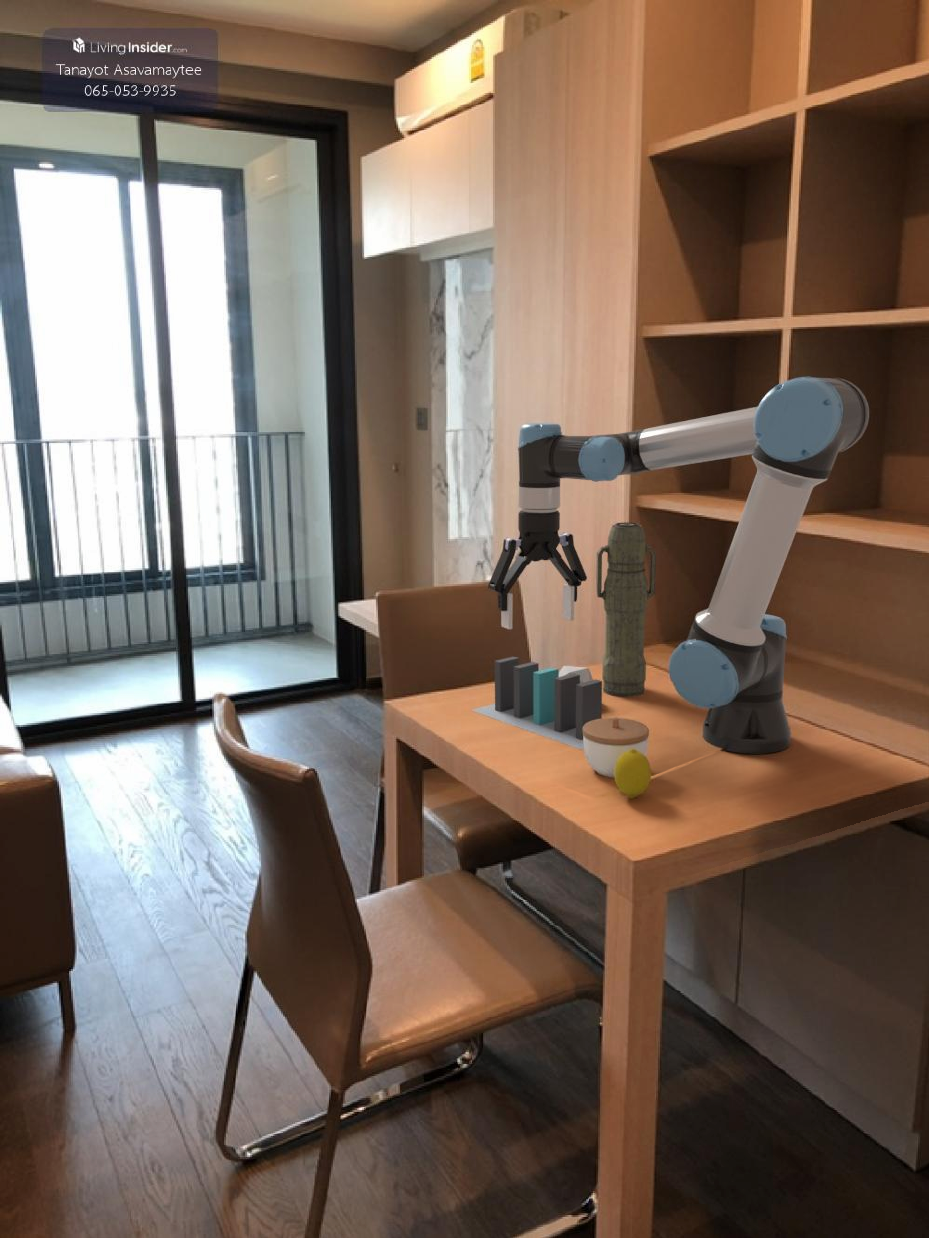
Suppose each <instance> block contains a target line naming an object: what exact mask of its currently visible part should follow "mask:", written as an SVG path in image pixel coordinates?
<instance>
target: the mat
mask: <svg viewBox="0 0 929 1238" xmlns="http://www.w3.org/2000/svg"><path fill="white" fill-rule="evenodd" d="M470 711H471V712H475V713H477V714H480V715H483V716H486V717H488V718H491V719H493V720H497V721H500V722H502V723H505V724H507V725H508V724H509V725H511V726H514V727H517V728H519V729H522V730H525V731H528V732H531V733H533V734H536V735H539V736H541V737H545V738H547V739H550V740H553V741H555V742H558V743H561V744H565V745H567V746H570V747H573V748H575V749H578V750H584V745H583V740H580V739H577V738H576V728H574V729H571V730H568V731H564V732H561V733H560V732H557V731H554V721H553V722H549V723H546V724H543V725H537V724H534V715H530V716H527V717H524V718H520V719H519V718H516V717H514V708H513V709H510V710H506V711H503V712H499V711H496V710H495V703H492V704H489V705H485V706H482V707H478V708H474V709H471V710H470Z"/></svg>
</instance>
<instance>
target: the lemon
mask: <svg viewBox="0 0 929 1238" xmlns="http://www.w3.org/2000/svg"><path fill="white" fill-rule="evenodd" d="M649 761H650V760H648V758H647V757H645V755H643V754H642V753H641V752H639V751H636V750H635V749H631V750H629V751H626V752H624V753H623V754H621V755H620V756H619V758H618V760H617V762H616V765H615V770H614V777H613V778H614V781H615V785H616V787H617V789H618V790H619V791H621V793H622V794H625V795H627V796H628V797H629V798H630V799H634V798H636V797H637V796H639V795H642V794H643V793H644V792H645V791H647V789H648V788H649V785H650V783H651V777H652V771H651V765H650V762H649Z"/></svg>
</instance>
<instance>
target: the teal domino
mask: <svg viewBox="0 0 929 1238" xmlns="http://www.w3.org/2000/svg"><path fill="white" fill-rule="evenodd" d="M559 672H560V668H556V667H548V668H546V669H540V670H539V671H537V672H533V702H534V724H537V725H543V724H546V723H549V722H553V721H554V678H558V677H559Z"/></svg>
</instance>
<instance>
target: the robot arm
mask: <svg viewBox="0 0 929 1238" xmlns="http://www.w3.org/2000/svg"><path fill="white" fill-rule="evenodd" d="M869 419H870V408H869V403H868V401H867V398H866V396H865V394H864V393H863V392H862V389H860V388H859V387H858V386H857V385H855V384H854V383H852V382H851V381H849V380H846V379H843V378H839V377H812V376H801V377H795V378H791V379H789V380H786V381H783V382H781V383H779V384H777V385H775V386H774V387H773V388H772V389H770V390H769V391H768V392H767V393H766V394H765V396H763V397H762V399H761V401H760V402H759V404H758V405H757V406H755V407H749V408H743V409H739V410H734V411H729V412H723V413H719V414H715V415H714V414H713V415H710V416H704V417H699V418H694V419H688V420H685V421H677V422H673V423H669V424H668V423H667V424H663V425H658V426H653V427H649V428H645V429H638V430H632V431H627V432H622V433H621V432H620V433H611V434H599V435H598V434H597V435H565V434H563V432H562V427H561V425H560V424H559V423H552V422H548V423H547V422H544V423H543V422H541V423H537V422H535V423H534V422H532V423H525V424H523V425H522V426H521V427H520V428H519V438H518V447H517V450H518V477H519V481H518V508H520V509H521V510H520V511H519V512H518V513H517V514H518V515H517V516H518V518H517V520H518V522H517V523H518V524H517V525H518V531H519V535H518V539H517V538H516V539H514V538H509V537H505V538H504V539H503V543H502V551H501V552H500V555H499V556H500V557H499V558H498V560H497V563H496V565H495V568H494V570H493V573H492V575H491V577H490V580H489V581H488V582H489V583H488V585H487V588H488V589H489V590H491V591H493V592H496V593H497V608H498V611H500V612H501V613H500V614H501V615H500V616H501V617H500V619H501V620H500V622H501V626H500V627H502V628H505V629H507V630H513V618H514V617H513V614H514V613H513V605H514V604H513V603H514V602H513V593H510V591H511V590H512V588H513V586H514V585H515V584H516V582H517V580H518V579H519V578H520V576H521V574H522V573H523V571H525V569H526V567H527V566H528V565H530V564H531V563H532V562H535V563H536V562H540V561H550V562H551V564H552V565H553V566H554V567H555V569H556V570H557V571H558V572H559V574H560V575H561V577H562V578H563V580H564V581H565V582H566V583H562V606H561V607H562V615H561V617H562V618H563V619H565V620H567V621H574V620H575V618H574V616H575V603H576V602H577V600H578V587H580V586H581V585H582V582H586V581H587V577H588V576H587V574H586V572H585V569H584V566H583V564H582V561H581V559H580V557H579V555H578V551H577V550H576V548H575V543H574V535H573V534H572V533H569V532H561V533H560V534H559V531H560V529H561V528H560V523H561V522H560V520H561V518H560V517H561V516H560V515H561V513H560V512H559V510H558V509H559V508H560V507H561V479H571V480H580V481H581V480H583V481H591V482H597V483H598V482H610V481H611V482H612V481H614V480H616V479H617V478H618V476H625V475H629V476H630V475H636V474H641V473H644V472H649V471H654V470H659V469H660V470H662V469H667V468H673V467H680V466H686V465H691V464H697V463H703V462H710V461H717V460H724V459H729V458H734V457H735V458H736V457H741V456H749V455H751V458H752V460H753V463H754V464H755V467H756V469H757V471H756V474H755V477H754V479H753V482H752V485H751V487H750V488H751V489H750V491H749V493H748V496H747V498H746V502H745V505H744V506H743V510H742V513H741V516H740V518H739V522H738V525H737V528H736V530H735V531H734V532H735V533H734V536H733V538H732V541H731V544H730V547H729V548H728V552H727V555H726V558H725V561H724V564H723V566H722V569H721V572H720V575H719V577H718V580H717V584H716V586H715V589H714V591H713V594H712V596H711V600H710V603H709V606H708V608H706V609H703V610H701V611H699V612H697V613H696V614H695V617H694V619H693V622H692V625H691V627H690V630H689V632H688V637H687V639H686V640H685V641H683V642H681V643H679V644H678V645H677V647H676V648H675V649H674V651H672V653H671V655H670V658H669V661H668V675H669V679H670V681H671V682H672V685H673V687H674V689H675V691H676V692H677V693H678V695H679V696H680V697H681V698H682V699H683V700H684V701H686V702H687V703H689V704H691V705H692V706H694V707H698V708H700V709H708V711H707V714H706V717H705V720H704V721H703V724H702V738H703V740H704V741H706V742H707V743H708V744H710V745H711V746H714V747H717V748H719V749H721V750H724V751H727V752H732V753H739V754H749V755H751V754H753V755H754V754H755V755H756V754H761V755H762V754H771V753H777V752H781V751H784V750H785V749H788V748H789V746H790V745H791V735H792V731H791V726H790V725H789V720H788V717H787V712H786V710H785V706H784V702H783V693H784V692H783V691H784V690H783V689H784V680H785V679H784V677H785V675H784V674H785V663H786V662H785V661H786V660H785V659H786V647H787V646H786V645H787V639H788V636H787V630H786V629H787V624H786V622H785V620H784V619H782V617H779V616H776V615H772V614H766V611H767V609H768V606H769V604H770V602H771V599H772V595H773V593H774V590H775V588H776V585H777V583H778V580H779V577H780V575H781V572H782V570H783V568H784V565H785V562H786V560H787V557H788V555H789V552H790V549H791V547H792V544H793V541H794V538H795V535H796V534H797V531H798V528H799V525H800V524H801V520H802V518H803V514H804V513H805V510H806V507H807V504H808V502H809V500H810V496H811V494H812V491H813V489H814V487H816V486H817V485H820V484H822V483H824V482H826V481H828V479H829V477H830V474H831V472H832V469H833V467H834V464H835V462H836V459H837V457H838V453H842V452H844V451H846V450H848V449H849V448H851V447H852V446H854V445H855V444H856V443H857V442H858V441H859V440H860V439H861V438H862V436H863V435H864V433H865V431H866V430H867V427H868V424H869ZM559 545H560V546H561V548H562V549H561V550H562V551H563V554H564V556H565V558H566V561H565V560H564V559H563V556H562V555H561V553H560V552H559V550H558V549H557V548H558V546H559ZM518 549H520V550H519V551H518V553H517V554H516V551H517V550H518ZM515 554H516V556H515ZM514 559H515V560H514ZM513 560H514V561H513ZM512 562H513V563H512ZM566 562H567V563H568V564H567V563H566Z"/></svg>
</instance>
